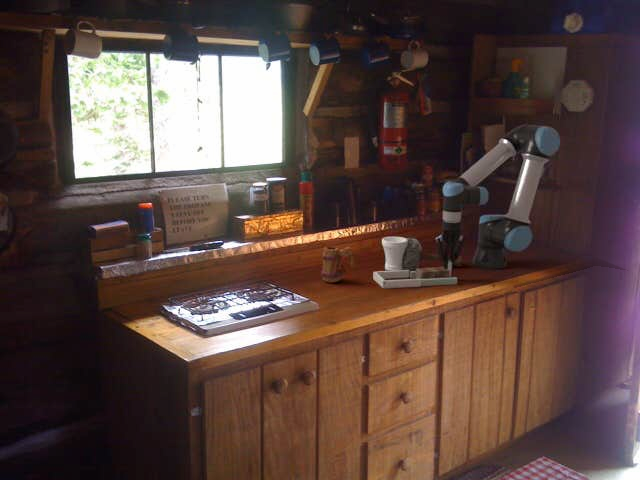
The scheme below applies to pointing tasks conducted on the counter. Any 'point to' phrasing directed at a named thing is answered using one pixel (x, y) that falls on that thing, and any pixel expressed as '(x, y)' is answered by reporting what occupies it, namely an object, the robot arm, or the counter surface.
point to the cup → (394, 252)
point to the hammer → (419, 256)
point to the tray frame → (382, 275)
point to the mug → (336, 263)
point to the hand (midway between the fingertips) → (447, 275)
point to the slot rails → (434, 280)
